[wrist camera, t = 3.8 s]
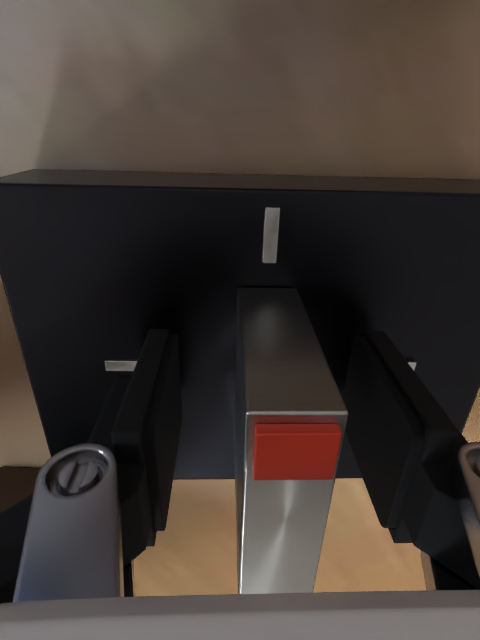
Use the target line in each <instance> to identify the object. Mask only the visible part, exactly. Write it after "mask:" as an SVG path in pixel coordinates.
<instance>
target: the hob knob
mask: <svg viewBox="0 0 480 640" xmlns="http://www.w3.org/2000/svg"><path fill="white" fill-rule="evenodd" d="M347 418H348V411H347V408H346V406H345V404H344V401H343V399H342V396H341V394H340V392H339V389H338V387H337V384H336V382H335V380H334V377H333V375H332V372H331V370H330V368H329V365H328V363H327V361H326V358H325V356H324V353H323V351H322V349H321V346H320V344H319V341H318V339H317V337H316V334H315V332H314V329H313V327H312V325H311V322H310V320H309V318H308V315H307V313H306V310H305V308H304V306H303V303H302V301H301V298H300V296H299V294H298V291H297V289H295V288H238V290H237V330H236V371H235V412H234V446H235V488H236V531H237V573H238V593H239V594H270V593H312V592H313V587H314V582H315V577H316V572H317V567H318V562H319V557H320V552H321V547H322V542H323V537H324V532H325V527H326V522H327V517H328V513H329V508H330V503H331V498H332V493H333V488H334V483H335V478H336V473H337V468H338V463H339V458H340V453H341V448H342V443H343V438H344V433H345V428H346V423H347Z"/></svg>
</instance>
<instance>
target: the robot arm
mask: <svg viewBox="0 0 480 640" xmlns="http://www.w3.org/2000/svg"><path fill="white" fill-rule="evenodd" d="M342 399H343V401H344V404H345V406H346V408H347V411H348V418H347V423H346V428H345V433H346V436H347V438H348V441H349V443H350V446H351V449H352V451H353V454H354V456H355V459H356V462H357V464H358V467H359V470H360V472H361V475H362V477H363V480H364V483H365V485H366V488H367V490H368V493H369V496H370V498H371V501H372V504H373V506H374V509H375V511H376V514H377V517H378V519H379V522H380V524H381V526H382V527H384V528H388V529H389V531H390V534H391V536H392V539H393V541H394V543H413V544H414V546H416V547H417V548H419V549H420V550H421V561H422V566H423V572H424V578H425V583H426V589H427V591H373V592H320V593H270V594H227V595H186V596H146V597H135V584H134V568H133V559H135V558H136V557H137V556H138V555H139V554H141V553H142V552H143V551H144V550H145V549H146V547H147V546H154V545H155V539H156V533H157V531H164V530H165V528H166V522H167V515H168V509H169V502H170V495H171V489H172V482H173V476H174V469H175V462H176V456H177V449H178V443H179V436H180V429H181V423H182V399H181V382H180V364H179V346H178V335H177V334H171V332H170V329H149V331H148V334H147V337H146V339H145V342H144V345H143V347H142V350H141V353H140V355H139V358H138V361H137V363H136V366H135V369H134V371H133V374H132V375H118V376H117V377H116V378H115V380H114V382H113V385H112V387H111V389H110V392H109V394H108V396H107V398H106V401H105V403H104V405H103V408H102V410H101V412H100V414H99V417H98V419H97V421H96V424H95V426H94V428H93V430H92V433H91V435H90V437H89V440H88V442H87V443H86V444H78V445H75V446H71V447H68V448H66V449H64V450H62V451H60V452H58V453H56V454H55V455H54V456H53V457H51V458H50V459H49V460H48V461H47V462H46V463H45V464H44V465H43V467H42V468H41V469H40V471H39V474H38V476H37V479H36V483H35V488H34V493H33V494H31V495H30V496H28V497H26V498H25V499H23V500H21V501H19V502H18V503H16V504H14V505H13V506H11V507H9V508H8V509H6V510H4V511H3V512H1V513H0V640H480V442H471V443H468V442H467V441H466V439H465V438H464V437H463V435H462V434H461V433H460V431H459V430H458V429H457V427H456V426H455V425H454V423H453V422H452V421H451V419H450V418H449V417H448V415H447V414H446V413H445V411H444V410H443V409H442V407H441V406H440V405H439V403H438V402H437V401H436V399H435V398H434V397H433V395H432V394H431V393H430V391H429V390H428V389H427V387H426V386H425V385H424V384H423V382H422V381H421V380H420V378H419V377H418V376H417V374H416V373H415V372H414V370H413V369H412V368H411V366H410V365H409V364H408V362H407V361H406V360H405V358H404V357H403V356H402V354H401V353H400V352H399V350H398V349H397V348H396V346H395V345H394V344H393V342H392V341H391V340H390V338H389V337H388V336H387V334H386V333H385V332H384V331H362V332H361V334H360V336H355V337H354V340H353V345H352V350H351V356H350V361H349V366H348V372H347V377H346V382H345V388H344V393H343V398H342Z"/></svg>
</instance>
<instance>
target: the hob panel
mask: <svg viewBox="0 0 480 640" xmlns="http://www.w3.org/2000/svg"><path fill="white" fill-rule="evenodd" d="M0 275H1V278H2V282H3V286H4V289H5V293H6V296H7V300H8V304H9V307H10V311H11V314H12V318H13V322H14V325H15V329H16V332H17V336H18V340H19V343H20V347H21V350H22V354H23V358H24V361H25V365H26V368H27V372H28V375H29V379H30V383H31V386H32V390H33V393H34V397H35V401H36V404H37V408H38V411H39V415H40V419H41V422H42V426H43V429H44V433H45V437H46V440H47V444H48V447H49V451H50V455H51V457H53V456H54V455H55V454H56V453H58V452H60V451H62V450H64V449H66V448H68V447H71V446H75V445H78V444H86V443H87V442H88V440H89V437H90V435H91V433H92V430H93V428H94V426H95V424H96V421H97V419H98V417H99V414H100V412H101V410H102V408H103V405H104V403H105V401H106V398H107V396H108V394H109V392H110V389H111V387H112V385H113V382H114V380H115V378H116V377H117V376H118V375H132V374H133V371H134V369H135V366H136V363H137V361H138V358H139V355H140V353H141V350H142V347H143V345H144V342H145V339H146V337H147V334H148V331H149V329H170V332H171V334H177V335H178V346H179V364H180V382H181V399H182V423H181V429H180V436H179V443H178V449H177V456H176V462H175V469H174V476H173V480H178V479H235V446H234V412H235V371H236V330H237V290H238V288H295V289H297V291H298V294H299V296H300V298H301V301H302V303H303V306H304V308H305V310H306V313H307V315H308V318H309V320H310V322H311V325H312V327H313V329H314V332H315V334H316V337H317V339H318V341H319V344H320V346H321V349H322V351H323V353H324V356H325V358H326V361H327V363H328V365H329V368H330V370H331V372H332V375H333V377H334V380H335V382H336V384H337V387H338V389H339V392H340V394H341V396H342V398H343V393H344V388H345V382H346V377H347V372H348V366H349V361H350V356H351V350H352V345H353V340H354V337H355V336H360V334H361V332H362V331H384V332H385V333H386V334H387V336H388V337H389V338H390V340H391V341H392V342H393V344H394V345H395V346H396V348H397V349H398V350H399V352H400V353H401V354H402V356H403V357H404V358H405V360H406V361H407V362H408V364H409V365H410V366H411V368H412V369H413V370H414V372H415V373H416V374H417V376H418V377H419V378H420V380H421V381H422V382H423V384H424V385H425V386H426V387H427V389H428V390H429V391H430V393H431V394H432V395H433V397H434V398H435V399H436V401H437V402H438V403H439V405H440V406H441V407H442V409H443V410H444V411H445V413H446V414H447V415H448V417H449V418H450V419H451V421H452V422H453V423H454V425H455V426H456V427H457V429H458V430H459V431H460V433H461V434H462V432H463V429H464V426H465V424H466V421H467V419H468V416H469V413H470V411H471V408H472V406H473V403H474V401H475V398H476V395H477V393H478V390H479V388H480V180H475V179H432V178H390V177H348V176H305V175H263V174H221V173H178V172H136V171H93V170H51V169H32V170H28V171H23V172H19V173H15V174H11V175H7V176H3V177H0ZM336 478H363V477H362V475H361V472H360V470H359V467H358V464H357V462H356V459H355V456H354V454H353V451H352V449H351V446H350V443H349V441H348V438H347V436H346V433H344V438H343V443H342V448H341V453H340V458H339V463H338V468H337V473H336Z"/></svg>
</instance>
